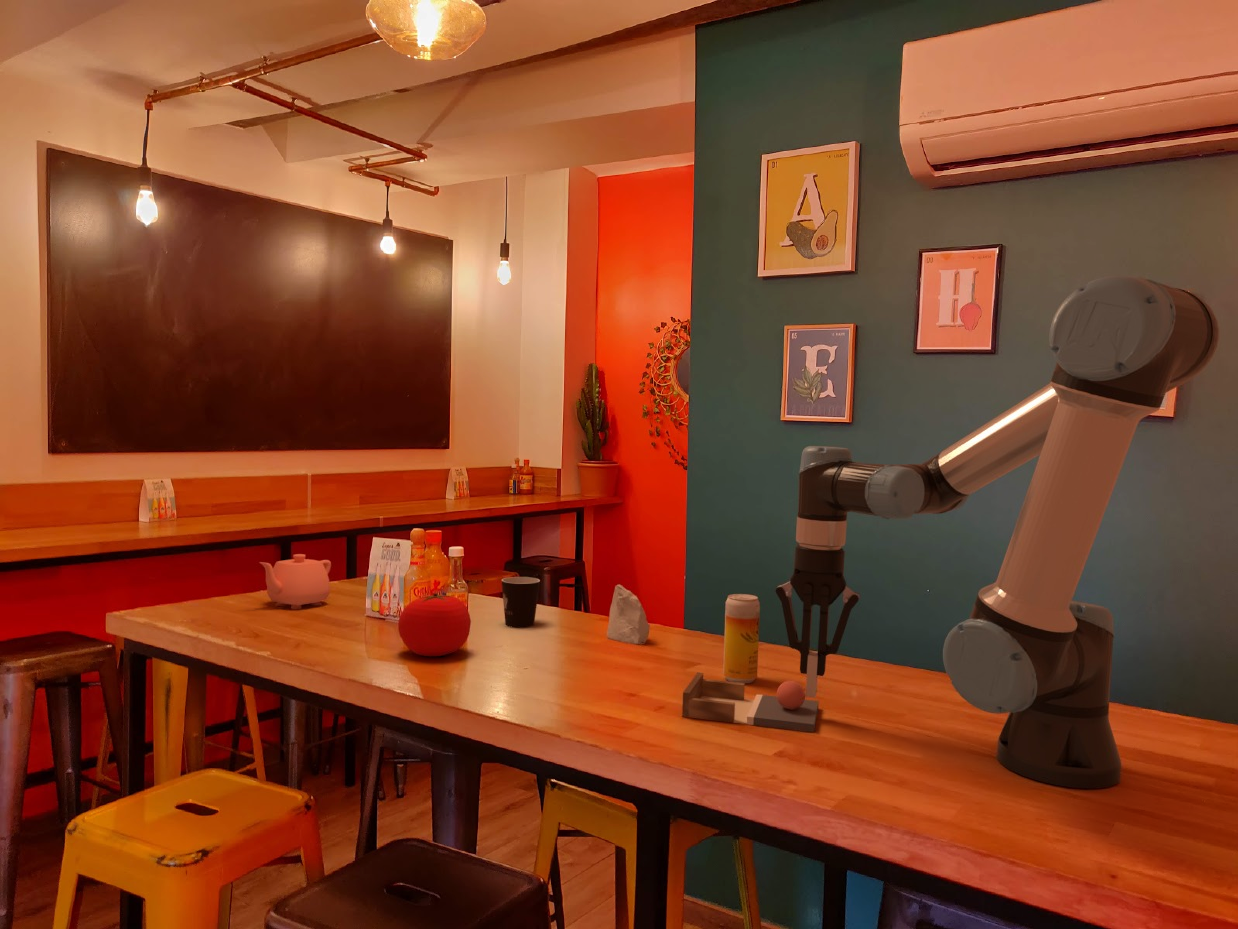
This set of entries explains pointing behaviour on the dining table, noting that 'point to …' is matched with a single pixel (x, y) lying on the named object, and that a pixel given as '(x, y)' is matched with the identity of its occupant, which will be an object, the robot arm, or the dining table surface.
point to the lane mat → (773, 713)
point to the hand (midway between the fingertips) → (811, 694)
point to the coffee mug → (520, 601)
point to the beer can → (741, 638)
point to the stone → (627, 618)
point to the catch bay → (711, 708)
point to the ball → (790, 695)
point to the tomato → (434, 625)
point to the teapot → (298, 581)
